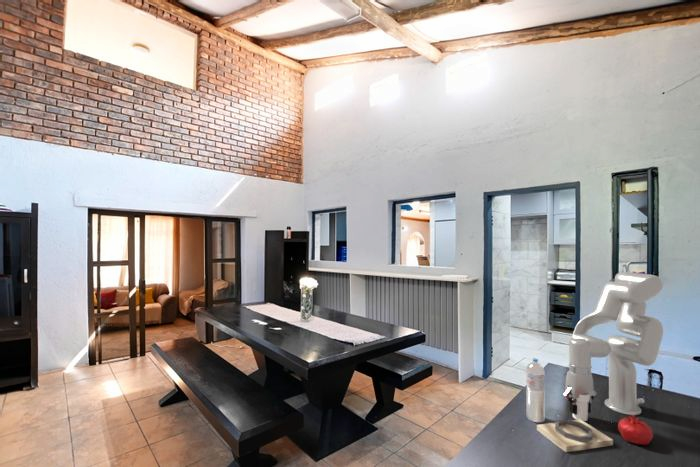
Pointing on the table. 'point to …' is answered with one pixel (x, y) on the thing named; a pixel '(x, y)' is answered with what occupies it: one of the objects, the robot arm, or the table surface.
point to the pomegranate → (635, 431)
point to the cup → (582, 407)
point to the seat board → (575, 431)
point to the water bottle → (535, 392)
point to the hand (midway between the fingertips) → (580, 411)
